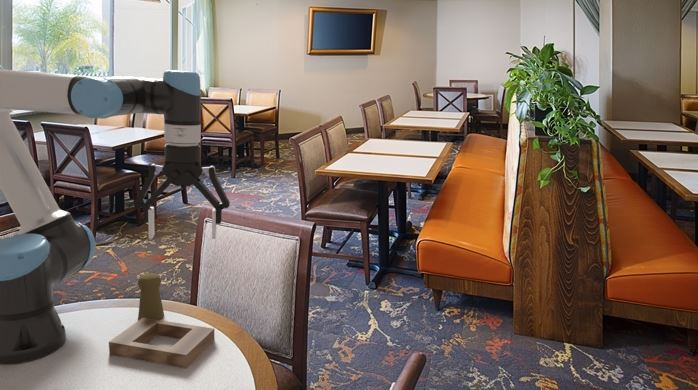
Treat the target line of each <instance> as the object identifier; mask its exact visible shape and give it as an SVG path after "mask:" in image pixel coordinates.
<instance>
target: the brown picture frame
mask: <svg viewBox="0 0 698 390" xmlns="http://www.w3.org/2000/svg"><path fill="white" fill-rule="evenodd" d="M157 336H158V337H159V336H161V337H166V338H171V339H172V338H173V339H179V340H178V341H177V342H176V343H174V344H173V345H172V346H171V347H165V346H159V345H153V344H148V343H149V342H151V340H153V339H154V338H156V337H157ZM215 339H216V337H215V328H213V327H205V326H200V325H193V324H187V323H182V322H181V323H180V322H175V321H174V322H173V321H168V320H163V319H162V320H156V319H150V318H142V319H140V320H138V321H136V322H134V323H133V324H132V325H131V326H129V327H128V328H126V329H125V330H123V331H122V332H121V333H119V334H118V335H116V336H115V337H113V338H112V339H110V340H109V341H108V350H109V351H108V353H109V354H108V355H110V356H114V357H119V358H124V359H131V360H138V361H144V362H148V363H149V362H150V363H155V364H158V365H159V364H160V365H165V366H170V367H177V368H183V369H188V368H189V367H190V366H191V365H192V364H193V363H194V362H195V361H196V360H197V359H198V358H199V357H200V356H201V355H202V354H203V353H204V352H205V351H206V350H207V349H208V348H209V347H210V346H211V345H212V344H213V343H214V342H215Z"/></svg>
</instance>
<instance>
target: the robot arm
mask: <svg viewBox="0 0 698 390" xmlns="http://www.w3.org/2000/svg"><path fill="white" fill-rule="evenodd" d="M201 91H202V89H201V76H200V75H199V73H198V72H196V71H187V70H171V69H169V70H168V69H167V70H165V71H164V72H163V76H162V78H148V77H147V78H146V77H137V76H136V77H135V76H130V75H129V76H128V75H121V76H120V75H119V76H117V75H116V76H114V75H113V76H96V75H95V76H93V75H79V74H67V73H66V74H64V73H54V72H53V73H51V72H39V71H37V72H36V71H27V70H26V71H24V70H11V69H5V67H3V66H2V65H1V64H0V190H1V193H2V194H3V196H4V197H5V199H6V201H7V204H9V206H10V209H11V210H12V212H13V213H14V216H15V217H16V220H17V221H18V222H19V224H20V228H19V230H18V232H17V234H15V235H13V236H6V237H3V238H1V239H0V364H3V365H4V364H5V365H7V364H19V363H20V364H21V363H26V362H30V361H35V360H37V359H40V358H44V357H46V356H48V355H51V354H52V353H54V352H56V351H57V350H59V349H60V348H62V347H63V346H64V344H65V342H66V340H67V333H66V328H65V325H64V323H62V321H61V317H60V315H59V313H58V311H57V310H56V308H55V302H54V290H53V287H54V286H56V285H58V284H60V283H61V282H63V281H64V280H66V279H67V278H70V277H71V276H72V275H75V274H77V273H80V272H81V271H82V270H83V269H84V268H85V267H87V265H89V263H91V261H92V260H93V258H94V256H95V253H96V246H97V245H96V240H95V239H96V238H95V236H94V234H93V232H92V230H91V229H90V228H89V227H88V226H87V225H86V224H82V223H81V222H78V221H75V220H74V218H73V216H72V214H71V212H69V211H66V210H63V209H61V208H60V206H59V205H58V203H57V201H56V200H55V198H54V196H53V194H52V192H51V190H50V188H49V186H48V184H47V183H46V181H45V180H44V177H43V175H42V173H41V172H40V170H39V168H38V166H37V164H36V162H35V161H34V158H33V156H32V155H31V153H30V151H29V149H28V147H27V145H26V144H25V142H24V140H23V138H22V136H21V134H20V132H19V130H18V128H17V126H16V124H15V123H14V122H13V119H12V117H11V115H10V114H11V111H13V110H14V111H15V110H16V111H30V112H38V113H41V112H42V113H52V114H53V113H54V114H67V115H79V116H80V115H81V116H84V117H86V118H89V119H99V120H100V119H108V118H111V117H117V116H125V115H134V114H148V115H149V114H151V115H163V123H164V125H163V126H164V127H163V129H164V130H163V132H164V135H163V136H164V137H163V139H164V141H165V142H166V143H165V145H164V164H163V165H158V164H157V163H152V164H151V165H150V166H149V168H148V175H147V177H146V179H145V181H144V183H143V185H142V186H141V189H140V191H139V193H138V194H137V196H136V198H135V200H134V202H133V205H134V206H135V207H140V208H142V212H143V213H142V214H143V217H142V218H143V224H147V226H148V239H153V238H154V236H155V234H156V233H155V229H156V228H155V206H152V204H154V202H155V201H156V200H157V199H158V198H160V196H161V195H162V194H163V192H165V190H166V189H167V188H168V187H169V186H170V185H173V186H175V187H181V186H184V187H190V186H194V188H195V189H197V190H198V191H199V192H200V194H202V195H203V197H204V198H205V199H206V201H208V202H209V204H210V205H211V206H212V207H213V208H212V210H211V211H212V212H211V240H216V238H217V225H221V223H222V211H223V210H224V209H228V208H229V207H230V205H231V202H230V199H229V198H228V196H227V194H226V191H225V189H224V188H223V186H222V185H221V183H220V180H219V178H218V176H217V173H216V172H217V171H216V167H215V165H209V166H205V167H204V166H203V165H202V164H201V162H202V161H201V160H202V159H201V155H202V153H201V146H200V144H199V143H201V139H202V138H201V135H202V133H201V132H202V131H201V129H202V126H201V125H202V124H201V122H202V121H201V116H202V115H201V114H202V113H201V111H202V109H201V107H202V106H201V105H202V92H201ZM160 172H162V173H163V175H165V177H166V180H164V182H163V183H162V184H161V185H160V186H159V187H158V188H157V189H156V190H155V191H154V192H153V194H152V195H151V196H150V197H149V198H148V199H147V200H144V199H145V197H146V195H147V193H148V191H149V189H150V187H151V185H152V184H153V182H154V180H155V178H156V176H158V175H159V174H160ZM203 173H204V174H205V175H206V177H208V178H209V180H210V182H211V185H212V186H213V188H214V190H215V192H216V194H217V196H218V198H219V200H218V199H217V197H216V196H215V195H214V194H213V193H212V192H211V191H210V189H209V188H208V187H207V186H206V185H205V184H204V182H203V180H201V178H200V177H201V175H202V174H203Z"/></svg>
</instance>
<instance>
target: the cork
mask: <svg viewBox="0 0 698 390" xmlns="http://www.w3.org/2000/svg"><path fill="white" fill-rule="evenodd" d="M137 280H138V281H137V285H138V288H139V289H140V294H139V304H138V314H137V315H138V317H137V320H138V321H139V320H140V319H142V318H150V319H156V320H162V321H163V319H164V318H165V312H164V308H163V302H162V297H161V291H160V287H161V283H162V278H161V276H160V275H159V274H157V273H154V272H149V273H144V274H142V275H140V276H139V278H138V279H137Z"/></svg>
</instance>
